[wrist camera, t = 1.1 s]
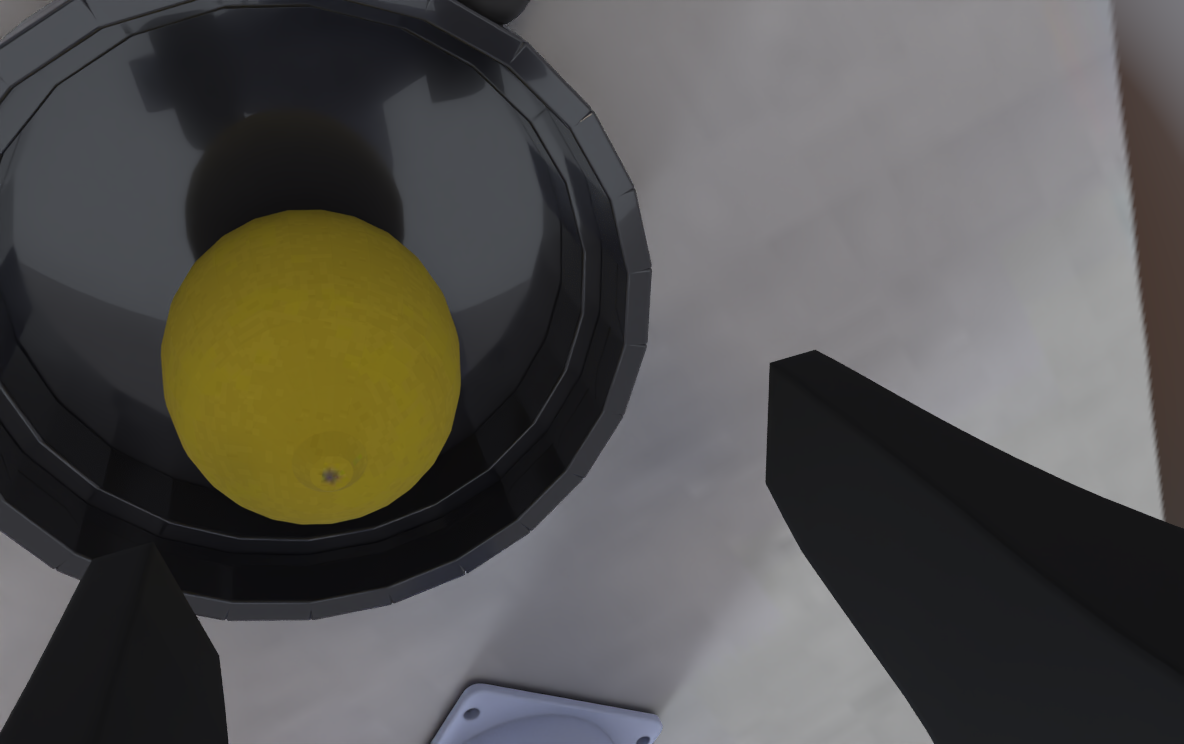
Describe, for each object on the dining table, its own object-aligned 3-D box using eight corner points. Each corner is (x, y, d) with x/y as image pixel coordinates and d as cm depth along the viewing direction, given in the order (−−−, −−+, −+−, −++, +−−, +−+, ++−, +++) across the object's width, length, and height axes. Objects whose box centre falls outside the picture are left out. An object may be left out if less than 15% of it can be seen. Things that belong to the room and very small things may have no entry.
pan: (441, 571, 27) (466, 667, 24) (-146, 430, 20) (-216, 539, 17) (701, 135, 23) (771, 183, 20) (75, -232, 16) (33, -247, 13)
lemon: (132, 198, 20) (74, 386, 13) (390, 134, 21) (459, 277, 14) (228, 410, 22) (221, 650, 16) (450, 345, 24) (528, 546, 17)
